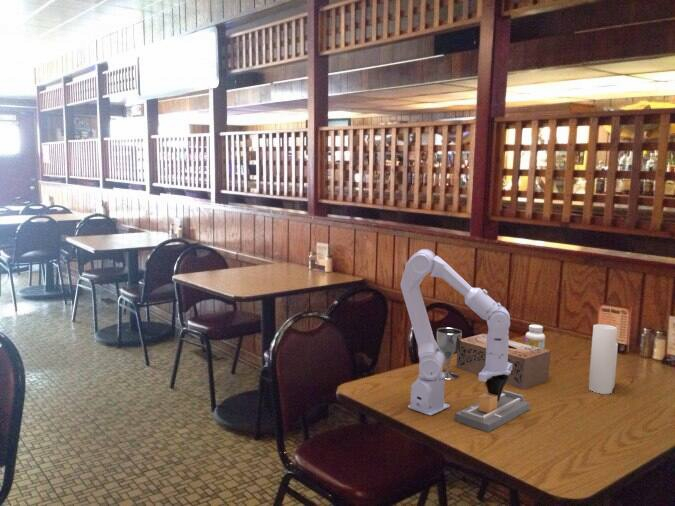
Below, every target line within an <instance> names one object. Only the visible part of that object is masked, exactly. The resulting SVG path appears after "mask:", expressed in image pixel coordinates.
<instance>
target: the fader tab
mask: <svg viewBox="0 0 675 506" xmlns="http://www.w3.org/2000/svg"><path fill="white" fill-rule="evenodd" d="M497 398H498V396H497V395H494V394H491V393H488V392H485V393H482V394H481V395H479V396H478V402H479V409H478V410H480V411H483V412H486V413H489V412H491V411H493V410H495V409H497Z"/></svg>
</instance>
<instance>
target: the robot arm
mask: <svg viewBox="0 0 675 506" xmlns="http://www.w3.org/2000/svg"><path fill="white" fill-rule="evenodd" d="M429 273H430V277H431V278H440V279H442V280H443V281H445V282H446V283H447V284H449V286H450V287H452V288H453V289H455V290H456V292H458V293H459V294H461V295H462V296H463V298H464V304H465V305H466V307H468V308H470V309H471V310H472V311H473V312H474V313H475V314H476V315H477V316H479V318H480V319H482V320H485V321H486V323H487V324H486V325H487V328H488V331H487V333H486V334H487V342H486V361H485V367H484V368H483V370H482V371H481V372H480V373H479V375H477V376H478V379H477V380H478V381H480V382H484V383H485V385H486V389H487V393H491V394H494V395H497V396H498V398H497V402H498V401H499V399H500V396H501V394H503V391H504V390H503V389H504V388H505V385H506V384H505V383H506V382H507V380H508V378H509V376H507V375H509V374H511V370H512V363H509V362H508V345H509V340H510V336H509V334H510V327H511V317H510V316H511V315H510V313H509V311H508V310H507V309H506V307H505V306H502V304H501V303H500V302H497V301H495V300H494V299H493V298H492V297H490V296H489V295H488V291H487V290H486V289H485V288H483V289H481V288H480V287H472V286H471V285H470V284H469V283H468V282H467V281H466V280H465V279H464V278H463V277H462V276H460V274H458V272H457V271H455V269H453V267H451V266H450V265H449V264H448V263H447V262H446V261H444V259H442V258H441V257H440V256H439V255H436V254H435V253H434V252H433V251H432V250H430V249H428V248H422V249H419V250H418V251H416V252H415V253H413V255H411V256H410V258H409V259H408V260H407V262H406V263H405V267H404V271H403V274H402V278H401V281H400V289H401V293H402V296H403V299H404V303H405V306H406V309H407V312H408V316H409V319H410V323H411V327H412V329H413V330H412V331H413V334H414V337H415V340H416V344H417V354H418V358H419V363H418V376H417V379H416V380H415V381H414V382H412V384H411V386H410V400H409V401H410V404H409V405H407V408H408V409H411V410H413V411H416V412H419V413H422V414H425V415H428V416H433V415H435V414H437V413H439V412H443V411H444V410H446V409H448V408H450V406H451V405H450V404H449V403H448V404H447V403H445V385H446V383H445V380H446V379H445V374H444V373H443V372H444V371H443V367H444V366H445V363H446V357H445V355H444V354H443V353H442V351H441V350H440V349H439V347H438V343H437V340H436V339H435V337H434V334H433V333H434V332H433V330H432V327H431V323H430V322H431V321H430V319H429V315H428V312H427V308H426V305H425V302H424V299H423V295H422V291H421V288H420V284H421V283H422V282H423V281H424V278H425V277H426V276H427V275H428V274H429ZM504 374H506V375H504Z"/></svg>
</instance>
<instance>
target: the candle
mask: <svg viewBox="0 0 675 506" xmlns="http://www.w3.org/2000/svg"><path fill="white" fill-rule="evenodd" d="M617 337H618V327H616V326H614V325H609V324H604V323H603V324H602V323H601V324H600V323H599V324H598V323H597V324H593V327H592V337H591V351H590V364H589V375H588V376H589V377H588V390H589V391H590V390H591V391H590V392H592V391H593V393H595V392H596V393H595V394H599V393H600V394H599V395H611V394H613V389H614V388H615V384H616V383H615V382H616V373H617V362H618V361H617V359H618V358H617V357H618V346H619V344H618V342H617ZM610 393H611V394H610Z"/></svg>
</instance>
